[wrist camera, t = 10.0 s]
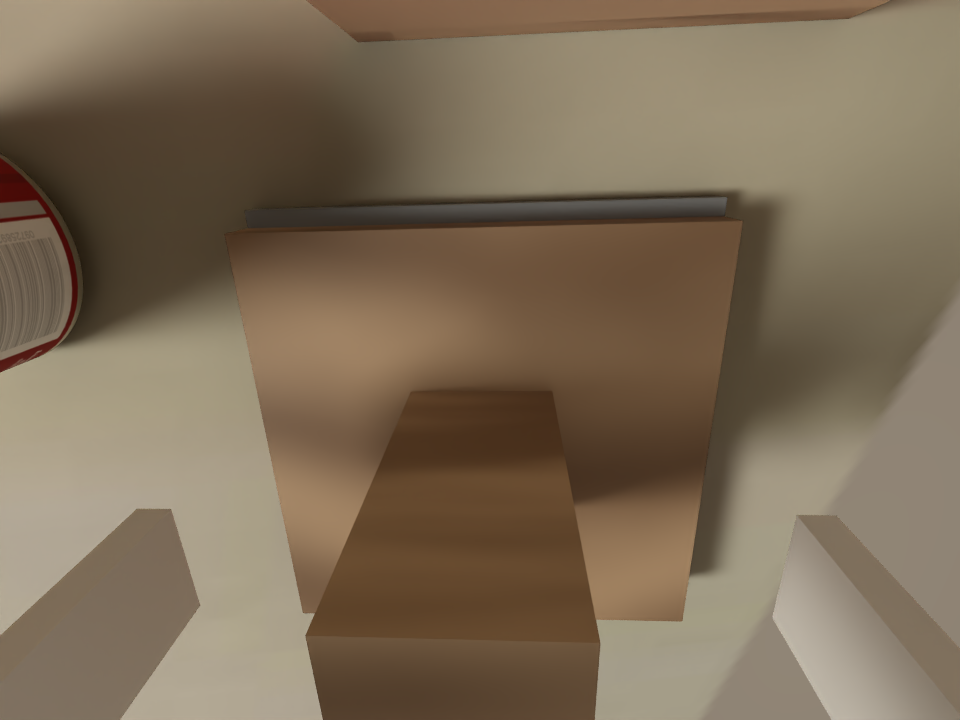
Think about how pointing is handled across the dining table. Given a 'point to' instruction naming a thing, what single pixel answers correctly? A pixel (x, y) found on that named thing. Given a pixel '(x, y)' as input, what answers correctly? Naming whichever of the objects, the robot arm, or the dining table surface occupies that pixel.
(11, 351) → the soda can
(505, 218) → the mat
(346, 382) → the lid
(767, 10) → the pink open box
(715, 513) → the dining table surface
